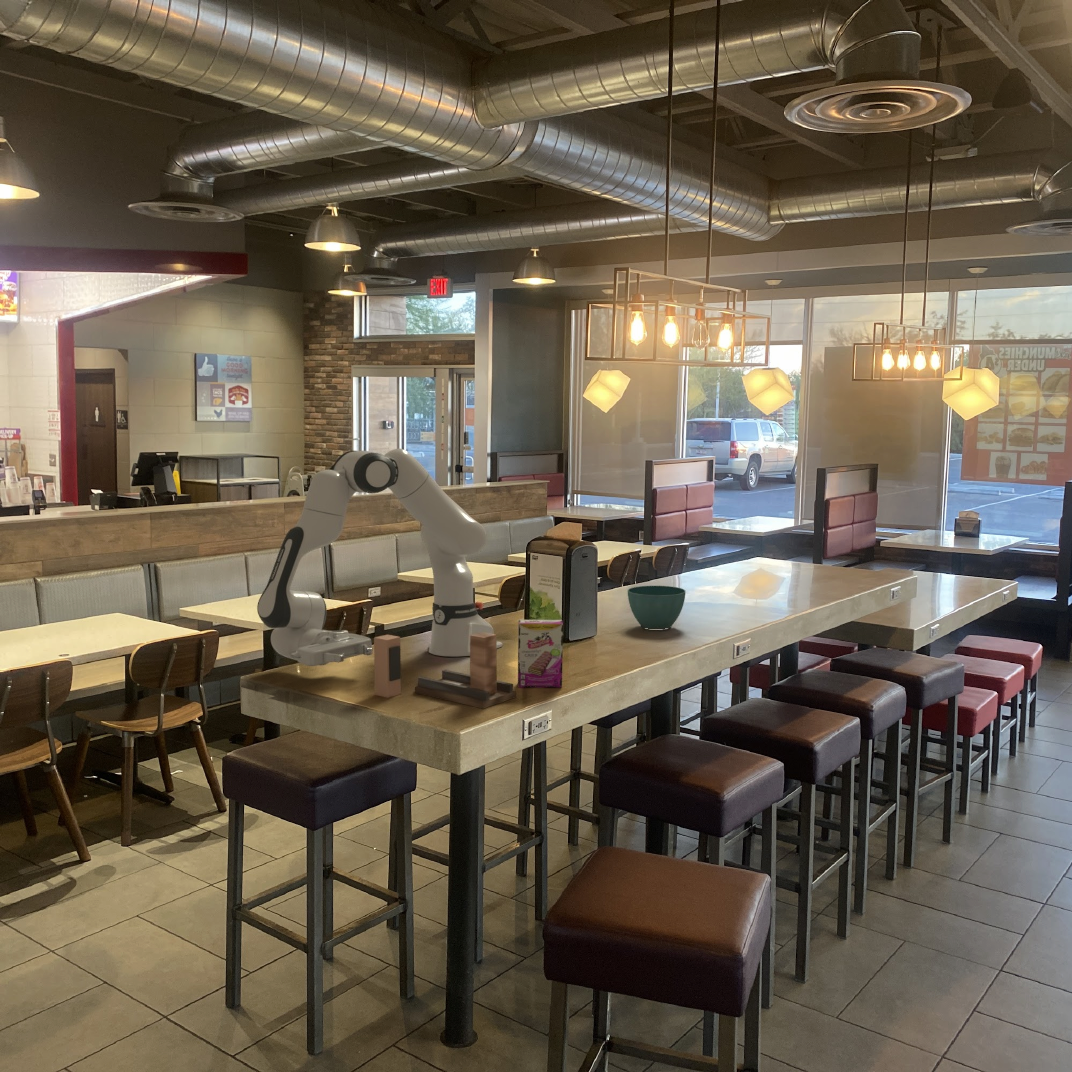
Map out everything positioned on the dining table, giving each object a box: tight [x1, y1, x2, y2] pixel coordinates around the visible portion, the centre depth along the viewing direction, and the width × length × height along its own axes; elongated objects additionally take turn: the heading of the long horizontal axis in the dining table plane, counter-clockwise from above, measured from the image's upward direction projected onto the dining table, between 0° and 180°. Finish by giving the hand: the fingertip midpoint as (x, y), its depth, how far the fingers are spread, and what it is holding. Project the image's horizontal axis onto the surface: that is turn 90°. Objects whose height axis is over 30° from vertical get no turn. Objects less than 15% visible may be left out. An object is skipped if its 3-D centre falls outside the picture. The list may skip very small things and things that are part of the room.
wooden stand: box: [414, 632, 517, 709], centre depth 244 cm, size 12×22×16 cm, turn 52°
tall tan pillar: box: [373, 634, 402, 699], centre depth 244 cm, size 4×5×14 cm
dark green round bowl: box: [627, 585, 686, 629], centre depth 322 cm, size 18×18×12 cm
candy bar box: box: [517, 619, 564, 688], centre depth 252 cm, size 11×5×16 cm, turn 92°
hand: (356, 655), depth 251 cm, fingers open, 8 cm apart
